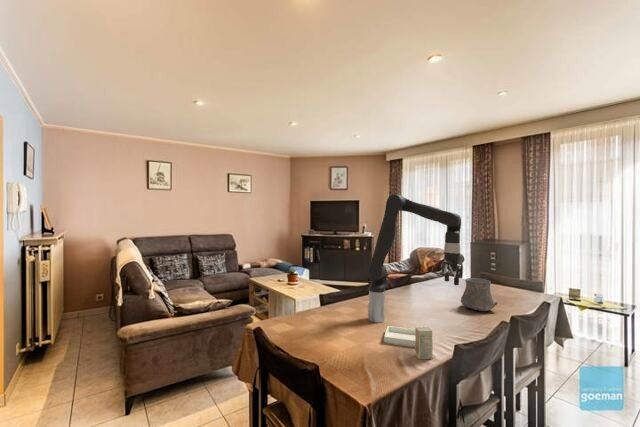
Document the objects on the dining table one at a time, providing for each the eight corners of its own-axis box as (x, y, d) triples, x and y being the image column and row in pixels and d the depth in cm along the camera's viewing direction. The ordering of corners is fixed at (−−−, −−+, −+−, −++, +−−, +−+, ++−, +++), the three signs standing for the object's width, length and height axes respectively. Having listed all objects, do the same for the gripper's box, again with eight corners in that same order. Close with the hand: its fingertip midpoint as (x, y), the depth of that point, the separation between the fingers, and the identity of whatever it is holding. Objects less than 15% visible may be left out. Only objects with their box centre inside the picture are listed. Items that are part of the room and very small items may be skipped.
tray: (383, 342, 147) (384, 336, 147) (387, 331, 162) (387, 325, 162) (432, 350, 140) (432, 343, 140) (431, 337, 155) (431, 331, 155)
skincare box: (428, 354, 135) (429, 327, 135) (432, 359, 130) (433, 330, 131) (414, 354, 134) (414, 326, 135) (418, 359, 130) (418, 330, 130)
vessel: (495, 317, 190) (495, 284, 190) (457, 310, 204) (457, 280, 204) (499, 309, 207) (500, 279, 208) (464, 303, 221) (465, 275, 221)
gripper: (438, 250, 163) (437, 280, 163) (453, 253, 149) (452, 286, 149) (450, 250, 164) (450, 280, 164) (467, 253, 150) (466, 286, 150)
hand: (451, 283), depth 157 cm, fingers open, 8 cm apart
